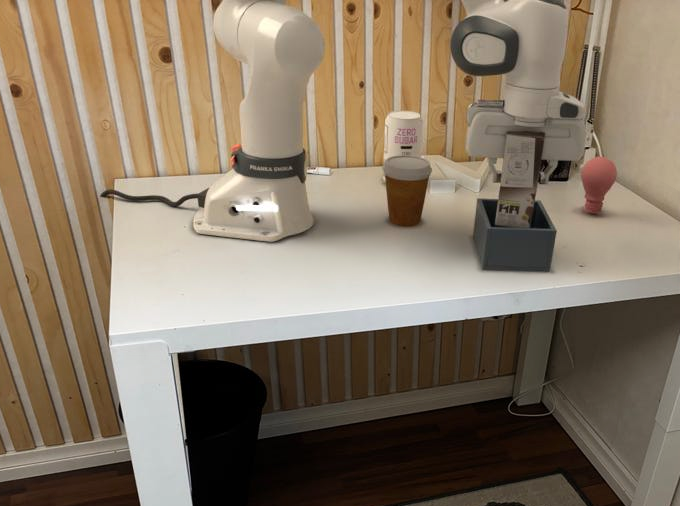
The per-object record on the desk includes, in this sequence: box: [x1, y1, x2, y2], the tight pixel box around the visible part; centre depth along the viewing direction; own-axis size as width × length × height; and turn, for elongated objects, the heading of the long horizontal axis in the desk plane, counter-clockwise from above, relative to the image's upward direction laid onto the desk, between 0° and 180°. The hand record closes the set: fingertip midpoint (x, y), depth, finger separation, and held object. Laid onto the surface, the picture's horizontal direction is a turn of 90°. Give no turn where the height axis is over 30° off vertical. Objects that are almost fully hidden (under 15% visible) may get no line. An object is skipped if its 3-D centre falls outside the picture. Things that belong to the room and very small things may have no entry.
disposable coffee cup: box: [382, 155, 433, 228], centre depth 143 cm, size 10×10×12 cm
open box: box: [472, 197, 558, 273], centre depth 134 cm, size 12×15×8 cm
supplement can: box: [382, 110, 424, 183], centre depth 161 cm, size 8×8×15 cm
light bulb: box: [580, 156, 618, 215], centre depth 152 cm, size 7×7×12 cm
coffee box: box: [495, 131, 545, 228], centre depth 128 cm, size 9×6×16 cm
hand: (519, 182), depth 129 cm, fingers closed on coffee box, 7 cm apart
